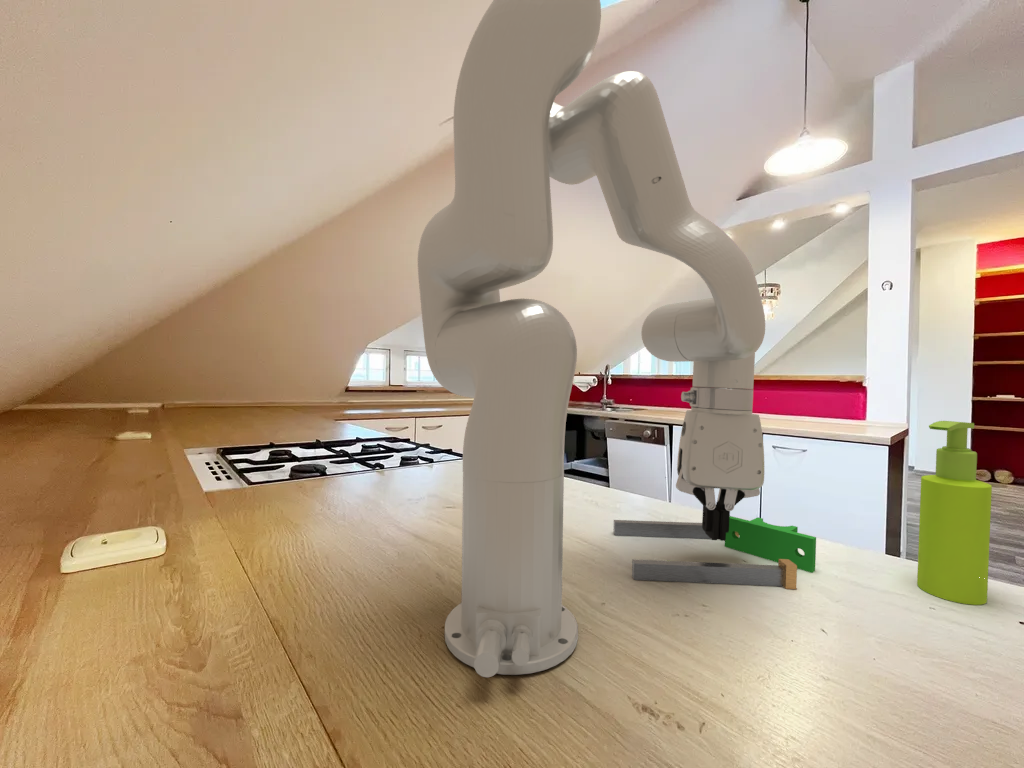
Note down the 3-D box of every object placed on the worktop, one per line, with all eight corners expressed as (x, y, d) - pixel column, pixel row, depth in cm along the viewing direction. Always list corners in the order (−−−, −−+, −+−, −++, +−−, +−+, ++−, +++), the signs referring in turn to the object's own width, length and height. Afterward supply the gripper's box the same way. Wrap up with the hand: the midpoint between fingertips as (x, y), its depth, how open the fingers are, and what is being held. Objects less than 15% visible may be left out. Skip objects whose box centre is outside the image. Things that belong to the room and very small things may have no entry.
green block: (821, 567, 61) (823, 532, 60) (812, 575, 58) (813, 539, 58) (735, 541, 69) (736, 511, 69) (724, 547, 67) (725, 516, 67)
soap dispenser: (901, 587, 54) (907, 419, 54) (933, 577, 57) (939, 418, 57) (965, 611, 49) (973, 425, 49) (997, 599, 52) (1005, 423, 51)
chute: (796, 589, 54) (797, 565, 53) (634, 582, 55) (635, 558, 55) (734, 535, 71) (734, 517, 71) (612, 531, 72) (613, 513, 72)
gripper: (672, 400, 59) (666, 543, 59) (793, 406, 58) (786, 551, 58) (658, 398, 66) (652, 524, 66) (765, 403, 65) (758, 531, 65)
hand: (714, 536), depth 62 cm, fingers closed
